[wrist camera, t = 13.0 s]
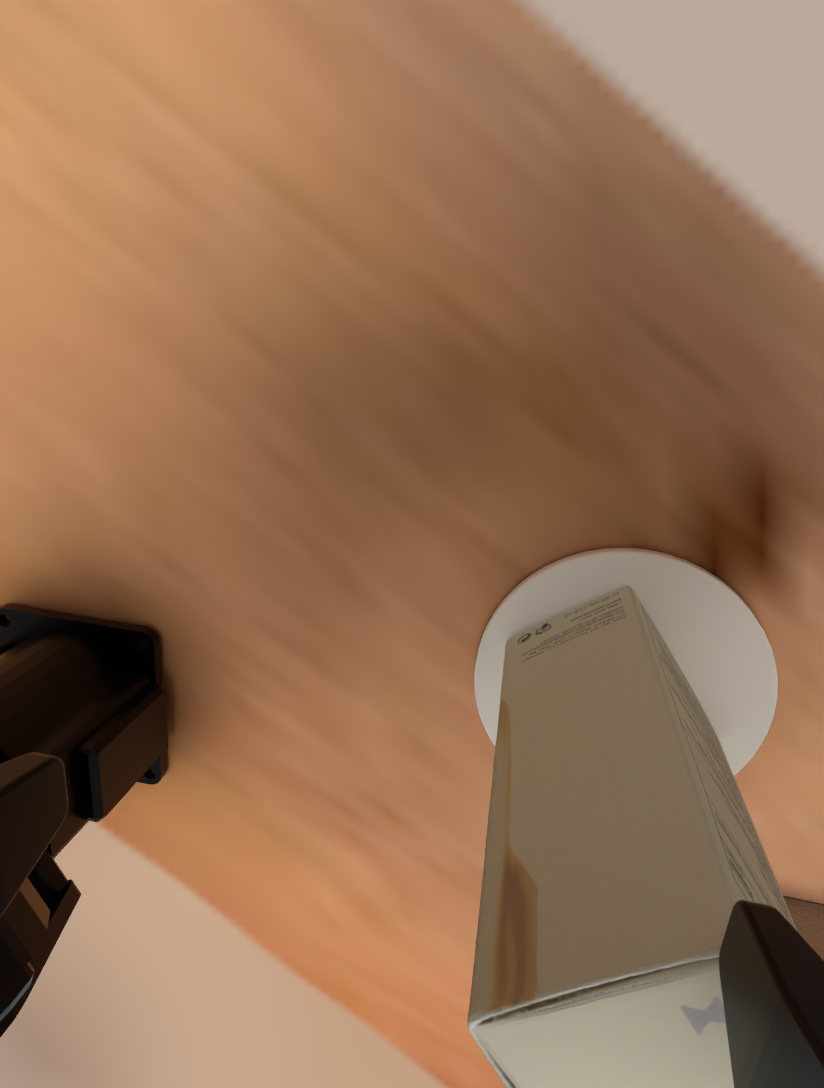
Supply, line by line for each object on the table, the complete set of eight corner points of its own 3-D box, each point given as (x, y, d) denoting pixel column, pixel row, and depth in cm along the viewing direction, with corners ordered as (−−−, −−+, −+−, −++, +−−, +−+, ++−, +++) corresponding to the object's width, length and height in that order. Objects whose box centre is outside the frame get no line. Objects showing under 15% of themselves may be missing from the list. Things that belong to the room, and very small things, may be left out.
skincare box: (500, 637, 21) (441, 1011, 10) (630, 577, 20) (739, 930, 8) (598, 797, 22) (646, 1300, 11) (728, 750, 21) (941, 1270, 9)
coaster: (462, 773, 24) (460, 783, 23) (492, 528, 21) (491, 534, 20) (733, 824, 22) (738, 837, 22) (806, 570, 19) (814, 577, 19)
